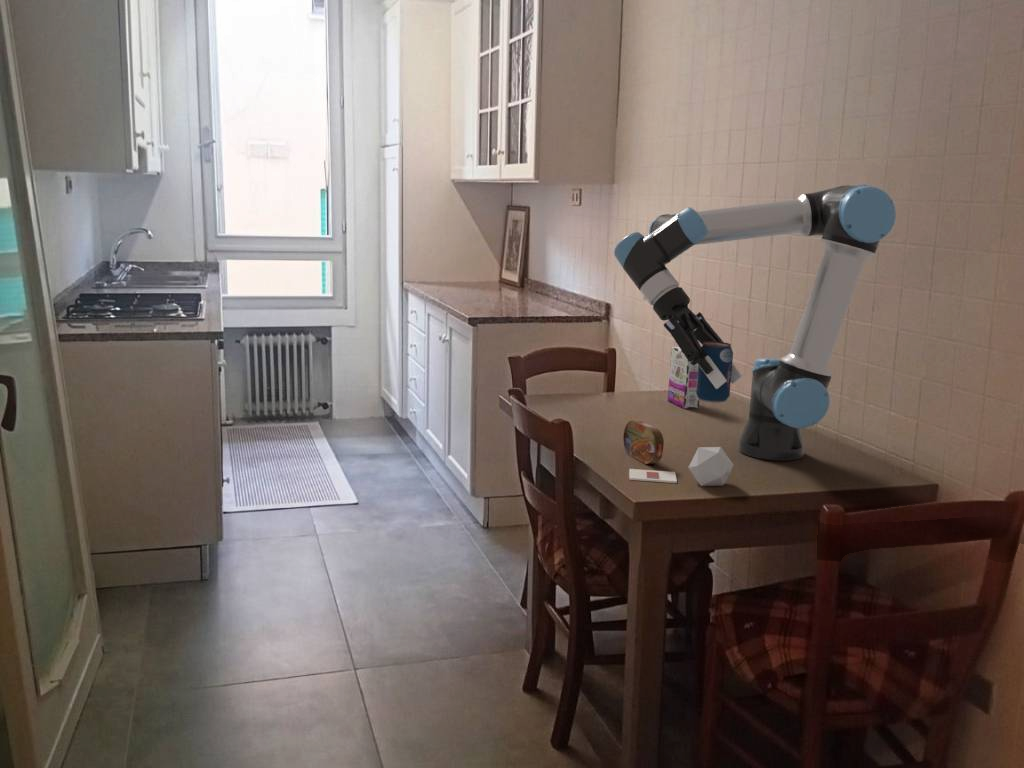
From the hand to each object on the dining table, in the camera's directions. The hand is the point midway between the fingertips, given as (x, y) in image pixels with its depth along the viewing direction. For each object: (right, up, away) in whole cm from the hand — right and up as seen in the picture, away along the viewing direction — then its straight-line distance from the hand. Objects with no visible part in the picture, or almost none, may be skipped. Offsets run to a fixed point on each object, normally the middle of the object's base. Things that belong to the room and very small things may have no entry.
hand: (729, 382), depth 199 cm
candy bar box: (+5, -7, +81) cm, 81 cm away
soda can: (-3, -4, +3) cm, 6 cm away
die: (-3, -22, +6) cm, 23 cm away
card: (-15, -21, +9) cm, 27 cm away
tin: (-15, -18, +23) cm, 33 cm away
